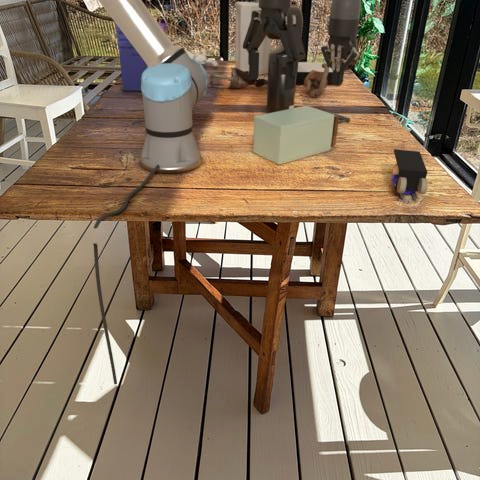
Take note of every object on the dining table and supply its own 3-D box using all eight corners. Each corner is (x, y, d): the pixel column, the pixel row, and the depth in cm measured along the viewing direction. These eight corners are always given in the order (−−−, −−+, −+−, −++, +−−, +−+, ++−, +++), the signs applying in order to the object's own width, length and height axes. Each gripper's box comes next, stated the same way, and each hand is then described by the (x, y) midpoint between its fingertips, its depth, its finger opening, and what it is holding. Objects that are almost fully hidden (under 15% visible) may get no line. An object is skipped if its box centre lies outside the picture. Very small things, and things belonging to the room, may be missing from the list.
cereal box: (169, 88, 189) (165, 22, 177) (167, 91, 185) (163, 24, 172) (126, 87, 190) (119, 21, 177) (123, 90, 186) (115, 23, 173)
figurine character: (424, 210, 105) (414, 176, 117) (433, 180, 100) (421, 147, 112) (393, 207, 106) (386, 174, 118) (400, 178, 101) (392, 146, 113)
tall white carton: (273, 76, 210) (276, 6, 196) (239, 77, 209) (240, 6, 194) (266, 67, 226) (268, 2, 212) (235, 67, 225) (235, 1, 210)
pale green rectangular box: (303, 139, 140) (306, 105, 135) (330, 150, 133) (334, 114, 128) (253, 152, 131) (254, 116, 125) (278, 164, 123) (281, 126, 118)
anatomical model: (314, 99, 193) (314, 101, 179) (299, 84, 192) (297, 84, 178) (337, 75, 188) (338, 74, 174) (321, 59, 188) (321, 57, 173)
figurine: (210, 87, 179) (288, 95, 182) (212, 65, 176) (291, 73, 180) (208, 84, 201) (278, 91, 205) (210, 64, 198) (280, 71, 202)
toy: (173, 75, 210) (172, 58, 207) (149, 64, 228) (148, 49, 224) (220, 69, 222) (220, 53, 218) (194, 59, 239) (193, 45, 236)
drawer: (325, 131, 144) (328, 104, 140) (349, 140, 137) (353, 112, 133) (265, 146, 132) (266, 117, 127) (288, 157, 125) (290, 127, 121)
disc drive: (294, 84, 198) (295, 72, 195) (288, 72, 217) (289, 61, 215) (336, 84, 198) (337, 72, 196) (326, 73, 218) (327, 61, 215)
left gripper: (326, -8, 105) (317, 91, 116) (252, -14, 121) (250, 73, 132) (302, -6, 101) (295, 95, 112) (229, -13, 117) (229, 76, 128)
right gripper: (374, 18, 120) (364, 88, 129) (336, 13, 129) (329, 79, 138) (354, 19, 116) (345, 92, 125) (316, 14, 125) (310, 82, 134)
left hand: (271, 83), depth 122 cm, fingers open, 13 cm apart
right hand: (336, 85), depth 131 cm, fingers closed
